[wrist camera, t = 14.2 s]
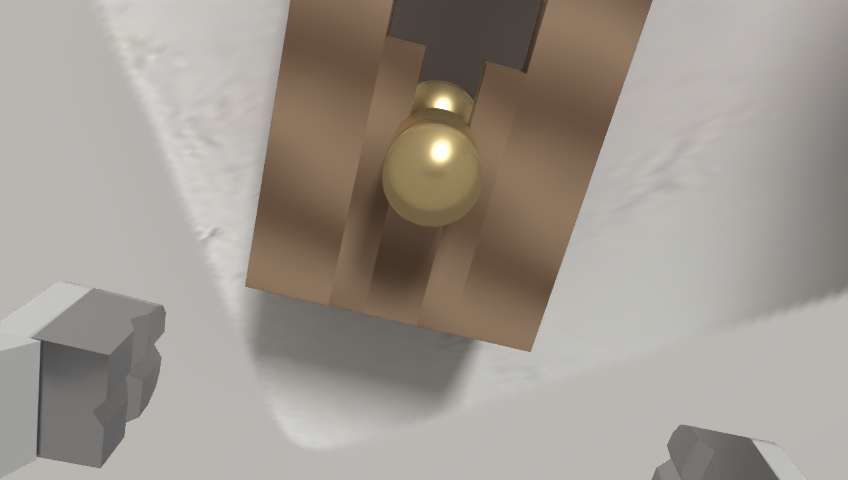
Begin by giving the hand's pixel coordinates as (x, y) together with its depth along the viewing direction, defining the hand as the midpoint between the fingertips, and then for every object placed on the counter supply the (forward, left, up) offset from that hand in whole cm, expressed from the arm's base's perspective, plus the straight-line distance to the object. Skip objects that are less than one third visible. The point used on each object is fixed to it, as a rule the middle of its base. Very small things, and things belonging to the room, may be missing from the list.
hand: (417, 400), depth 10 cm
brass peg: (0, 0, -24) cm, 24 cm away
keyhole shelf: (0, -3, -29) cm, 29 cm away
